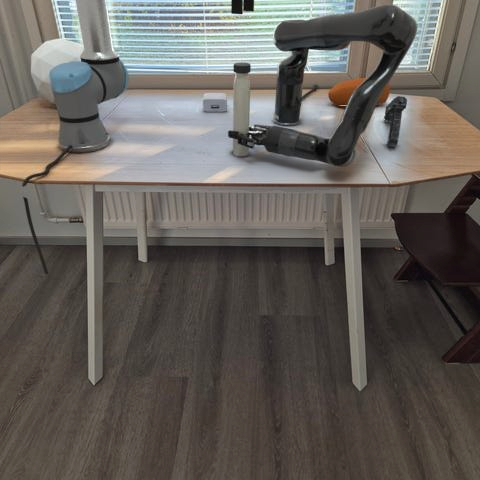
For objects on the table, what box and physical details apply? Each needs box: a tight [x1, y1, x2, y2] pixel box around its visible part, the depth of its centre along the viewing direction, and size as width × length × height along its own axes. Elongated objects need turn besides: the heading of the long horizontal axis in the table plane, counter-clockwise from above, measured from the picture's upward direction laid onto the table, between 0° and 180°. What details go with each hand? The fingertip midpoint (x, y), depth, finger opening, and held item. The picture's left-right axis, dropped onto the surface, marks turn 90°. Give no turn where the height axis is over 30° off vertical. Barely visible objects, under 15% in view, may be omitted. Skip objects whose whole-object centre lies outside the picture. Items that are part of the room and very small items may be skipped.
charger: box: [202, 92, 228, 113], centre depth 163 cm, size 5×9×15 cm
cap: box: [233, 61, 252, 74], centre depth 111 cm, size 5×5×2 cm
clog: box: [327, 76, 391, 109], centre depth 165 cm, size 12×11×25 cm
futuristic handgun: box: [383, 95, 408, 147], centre depth 138 cm, size 4×29×15 cm, turn 164°
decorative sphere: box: [30, 37, 84, 105], centre depth 157 cm, size 24×25×25 cm
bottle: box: [232, 73, 251, 157], centre depth 118 cm, size 5×5×25 cm
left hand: (242, 12), depth 103 cm, fingers open, 7 cm apart
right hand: (233, 130), depth 122 cm, fingers closed on bottle, 4 cm apart
